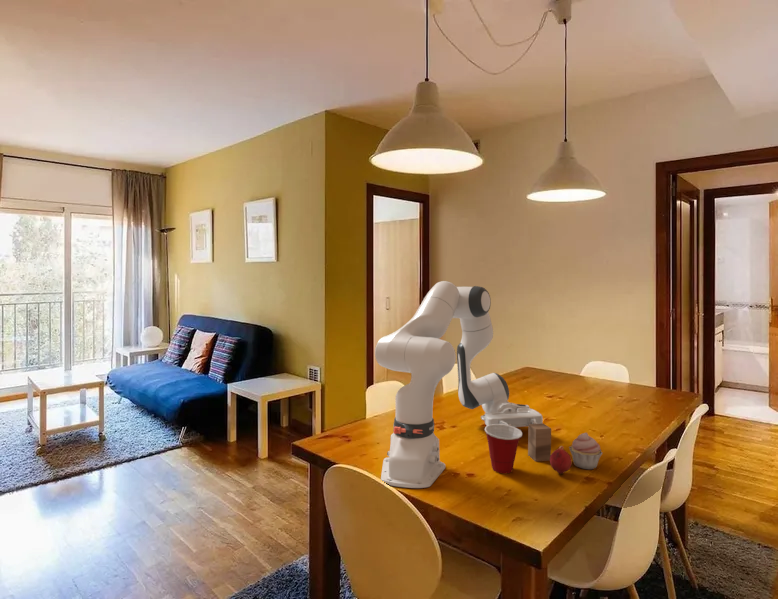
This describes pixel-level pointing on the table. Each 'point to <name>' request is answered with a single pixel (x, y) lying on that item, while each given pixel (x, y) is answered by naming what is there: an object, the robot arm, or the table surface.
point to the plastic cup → (502, 446)
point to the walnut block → (539, 442)
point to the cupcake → (585, 452)
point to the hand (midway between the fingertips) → (522, 426)
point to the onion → (560, 460)
